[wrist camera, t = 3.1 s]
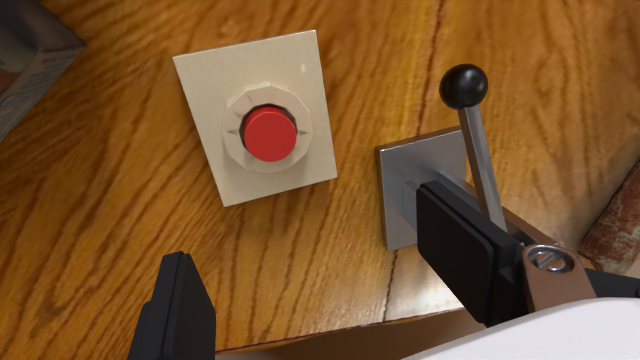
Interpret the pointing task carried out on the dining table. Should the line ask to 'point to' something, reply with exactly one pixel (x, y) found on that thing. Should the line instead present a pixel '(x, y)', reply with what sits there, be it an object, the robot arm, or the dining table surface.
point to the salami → (616, 230)
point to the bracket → (423, 166)
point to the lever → (474, 133)
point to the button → (269, 134)
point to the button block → (251, 94)
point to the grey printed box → (30, 57)
